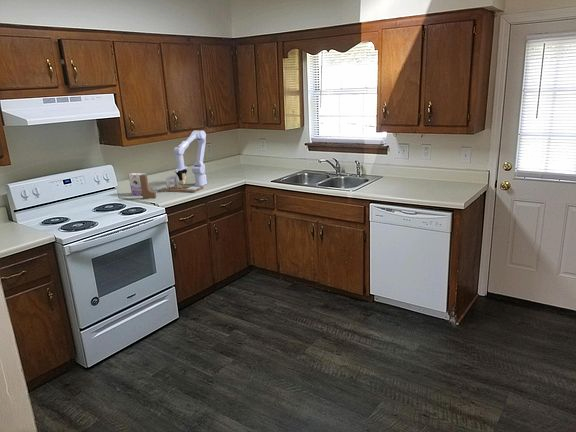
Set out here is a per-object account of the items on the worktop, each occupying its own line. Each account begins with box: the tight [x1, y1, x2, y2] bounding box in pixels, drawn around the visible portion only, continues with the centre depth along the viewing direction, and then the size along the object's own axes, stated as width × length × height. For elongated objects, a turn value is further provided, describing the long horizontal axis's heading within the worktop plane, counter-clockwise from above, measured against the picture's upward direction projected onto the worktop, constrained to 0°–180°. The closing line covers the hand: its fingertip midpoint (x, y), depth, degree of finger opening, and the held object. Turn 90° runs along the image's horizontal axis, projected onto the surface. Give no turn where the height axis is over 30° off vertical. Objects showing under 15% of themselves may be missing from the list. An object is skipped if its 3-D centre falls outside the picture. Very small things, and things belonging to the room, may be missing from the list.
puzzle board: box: [164, 185, 204, 194], centre depth 358 cm, size 14×27×2 cm, turn 68°
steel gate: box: [165, 174, 179, 189], centre depth 360 cm, size 12×2×9 cm, turn 158°
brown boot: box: [139, 173, 157, 200], centre depth 336 cm, size 9×4×18 cm, turn 95°
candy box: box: [128, 172, 144, 196], centre depth 350 cm, size 14×6×16 cm, turn 59°
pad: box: [186, 187, 200, 190], centre depth 354 cm, size 8×8×1 cm
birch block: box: [178, 173, 187, 185], centre depth 355 cm, size 4×4×8 cm
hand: (182, 179), depth 356 cm, fingers closed on birch block, 4 cm apart
